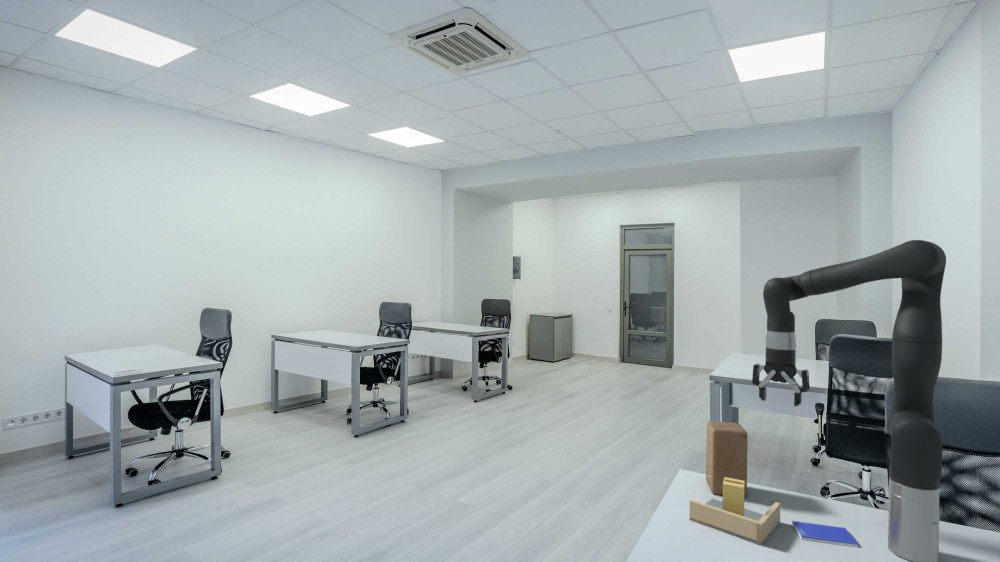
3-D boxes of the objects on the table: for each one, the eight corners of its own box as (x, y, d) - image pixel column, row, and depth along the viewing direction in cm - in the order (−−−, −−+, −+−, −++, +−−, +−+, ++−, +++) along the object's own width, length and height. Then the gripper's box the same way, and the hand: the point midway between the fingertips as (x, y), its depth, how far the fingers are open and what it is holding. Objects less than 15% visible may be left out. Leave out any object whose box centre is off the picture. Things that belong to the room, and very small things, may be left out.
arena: (780, 522, 132) (780, 503, 132) (761, 545, 121) (761, 524, 121) (712, 501, 145) (712, 483, 145) (689, 519, 133) (689, 500, 133)
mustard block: (744, 517, 133) (744, 480, 133) (743, 525, 129) (743, 486, 128) (723, 513, 135) (724, 476, 135) (722, 520, 131) (722, 482, 131)
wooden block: (747, 498, 147) (748, 432, 146) (712, 495, 149) (712, 429, 149) (738, 484, 156) (739, 422, 156) (705, 481, 158) (706, 420, 158)
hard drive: (801, 535, 124) (858, 543, 120) (791, 519, 132) (844, 526, 128) (801, 541, 124) (858, 549, 120) (791, 525, 132) (844, 532, 128)
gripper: (749, 345, 143) (749, 400, 143) (805, 350, 133) (805, 410, 134) (757, 343, 149) (757, 396, 149) (812, 348, 139) (811, 405, 139)
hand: (779, 402), depth 141 cm, fingers open, 8 cm apart
